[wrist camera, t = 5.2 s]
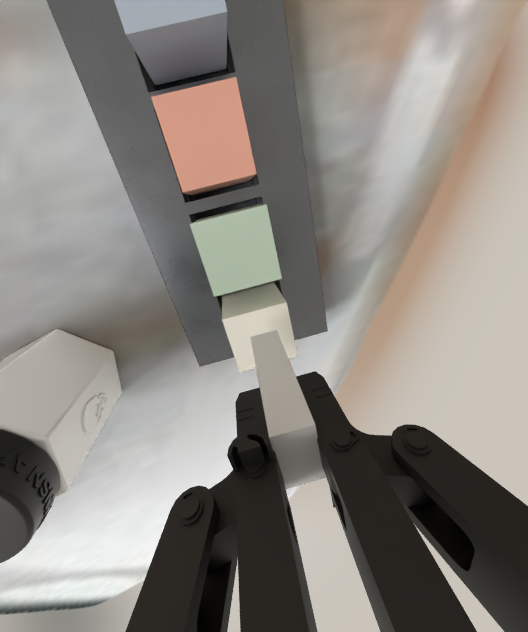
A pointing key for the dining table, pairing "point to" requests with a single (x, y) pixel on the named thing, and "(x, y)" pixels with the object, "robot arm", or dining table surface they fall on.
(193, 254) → the key panel
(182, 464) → the dining table surface
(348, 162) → the dining table surface
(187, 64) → the key slate
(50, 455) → the jar
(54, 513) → the dining table surface
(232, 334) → the key ivory
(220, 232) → the key sage
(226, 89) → the key coral
